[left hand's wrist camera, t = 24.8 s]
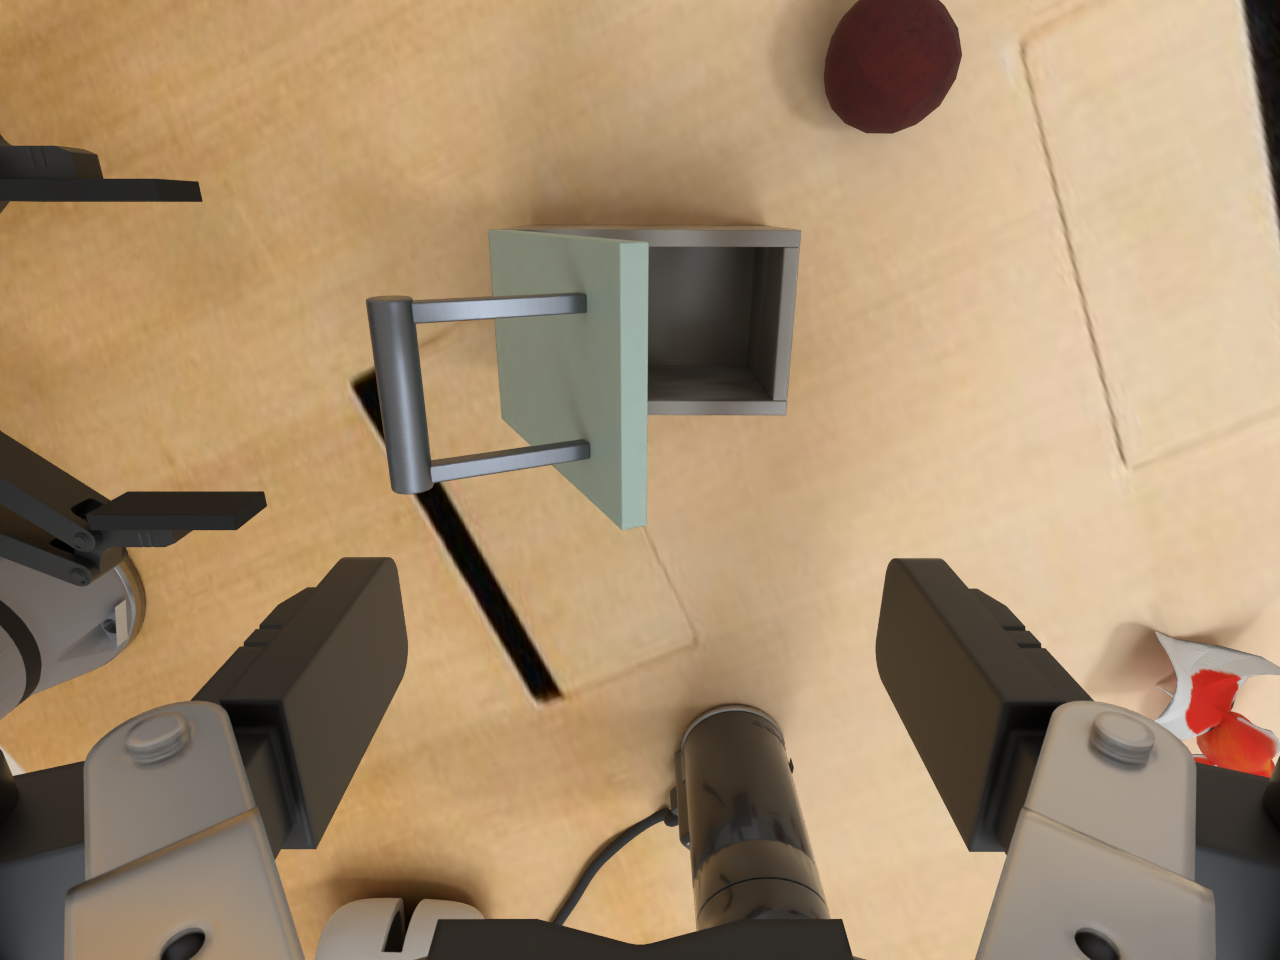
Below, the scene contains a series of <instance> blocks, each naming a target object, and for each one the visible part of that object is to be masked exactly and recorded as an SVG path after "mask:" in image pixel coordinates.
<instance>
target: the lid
mask: <svg viewBox="0 0 1280 960" xmlns="http://www.w3.org/2000/svg"><path fill="white" fill-rule="evenodd" d="M488 235H489V249H490V263H491V277H492V290H493V297H473V298H452V299H432V300H413V299H412V298H411V297H408V296H378V297H371V298H368V299H366V306H367V313H368V320H369V327H370V335H371V342H372V349H373V357H374V364H375V371H376V378H377V386H378V393H379V400H380V408H381V415H382V422H383V429H384V437H385V444H386V451H387V459H388V466H389V473H390V480H391V488H392V490H393V491H394V492H396V493H399V494H417V493H421V492H425V491H427V490H429V489H431V488H432V487H433V484H434V483H437V482H444V481H450V480H456V479H463V478H469V477H476V476H482V475H489V474H495V473H501V472H508V471H514V470H521V469H527V468H534V467H540V466H546V465H553V466H554V467H555V468H556V469H557V470H558V471H559V472H560V473H561V474H562V475H563V476H564V477H565V478H567V479H568V480H569V481H570V482H571V483H572V484H573V485H574V486H575V487H576V488H577V489H578V490H579V491H581V492H582V493H583V494H584V495H585V496H586V497H587V498H588V499H589V500H590V501H591V502H592V503H593V504H595V505H596V506H597V507H598V508H599V509H600V510H601V511H602V512H603V513H604V514H605V515H606V516H607V517H609V518H610V519H611V520H612V521H613V522H614V523H615V524H616V525H617V526H618V527H619V528H620V529H621V530H626V529H631V528H636V527H640V526H645V525H647V403H648V260H649V243H648V242H643V241H632V240H620V239H609V238H598V237H586V236H575V235H564V234H552V233H541V232H530V231H518V230H507V229H505V230H488ZM482 319H495V332H496V346H497V360H498V374H499V387H500V401H501V415H502V419H503V420H504V421H505V422H506V423H507V424H508V425H509V426H511V427H512V428H513V429H514V430H515V431H516V432H517V433H518V434H519V435H520V436H521V437H522V438H523V439H525V440H526V441H527V442H528V443H529V444H530V445H531V446H530V447H523V448H516V449H509V450H502V451H495V452H487V453H480V454H473V455H466V456H459V457H452V458H445V459H438V460H431V456H430V447H429V438H428V430H427V421H426V412H425V403H424V394H423V385H422V377H421V368H420V359H419V350H418V341H417V332H416V324H418V323H434V322H450V321H466V320H482Z"/></svg>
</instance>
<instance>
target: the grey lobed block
mask: <svg viewBox="0 0 1280 960" xmlns="http://www.w3.org/2000/svg"><path fill="white" fill-rule="evenodd" d="M438 919H485V918H484V916H483V915H482V914H481V912H480V911H479V910H477V909H476V908H474V907H473V906H470V905H467V904H464V903H460V902H455V901H447V900H435V899H423V900H422V901H421V902H420V903H419V904H418V905H417V907H416V909H415V911H414V913H413V915H412V918H411V921H410V924H409V927H408V930H407V934H406V937H405V917H404V904H403V900H402V898H370V899H361V900H356V901H353V902H350V903H347V904H345V905H343V906H341V907H340V908H339V909H337V910H336V911H335V912H334V913H333V914H332V915H331V917H330V918H329V919H328V921H327V923H326V925H325V926H324V928H323V931H322V933H321V936H320V939H319V943H318V947H317V951H316V957H315V960H415V959H418V958H422V957H426V956H428V952H429V949H430V945H431V942H432V938H433V935H434V931H435V928H436V924H437V921H438Z"/></svg>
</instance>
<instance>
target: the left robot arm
mask: <svg viewBox="0 0 1280 960" xmlns="http://www.w3.org/2000/svg"><path fill="white" fill-rule="evenodd" d="M407 656H408V640H407V632H406V625H405V618H404V611H403V605H402V598H401V591H400V584H399V577H398V571H397V567H396V564H395V562H394V560H393V559H392V558H390V557H344V558H342V559H340V560H339V561H338V562H337V563H336V565H335V566H334V567H333V568H332V569H331V570H330V572H329V573H328V574H327V575H326V576H325V577H324V579H323V580H322V581H321V582H320V583H319V584H318V586H317V587H307V588H306V589H304V590H302V591H301V592H299V593H297V594H296V595H294V596H292V597H291V598H289V599H287V600H285V601H284V602H282V603H280V604H279V605H278V606H277V607H276V608H275V609H274V610H273V611H272V612H271V613H270V614H269V615H268V617H267V618H266V619H265V620H264V621H263V622H262V623H261V624H260V628H259V629H256V630H255V631H254V632H253V633H252V634H251V635H250V636H249V637H248V638H247V639H246V641H245V642H244V646H243V647H239V648H238V649H237V650H236V651H235V653H234V654H233V655H232V656H231V657H230V658H229V659H228V660H227V661H226V662H225V663H224V665H223V666H222V667H221V668H220V669H219V670H218V671H217V672H216V673H215V674H214V675H213V677H212V678H211V679H210V680H209V681H208V682H207V683H206V684H205V685H204V686H203V687H202V689H201V690H200V691H199V692H198V693H197V694H196V695H195V696H194V697H193V698H192V699H191V701H185V702H177V703H173V704H168V705H164V706H161V707H157V708H154V709H152V710H149V711H146V712H144V713H141V714H139V715H137V716H135V717H133V718H131V719H129V720H127V721H125V722H124V723H122V724H120V725H119V726H117V727H116V728H114V729H113V730H111V731H110V732H109V733H107V734H106V735H105V736H104V737H103V738H101V739H100V740H99V741H98V742H97V743H96V744H95V745H94V747H93V748H92V749H91V751H90V752H89V753H88V755H87V758H86V760H85V761H82V762H77V763H72V764H68V765H63V766H58V767H54V768H49V769H44V770H39V771H35V772H30V773H25V774H21V775H16V776H12V773H11V771H10V769H9V766H8V764H7V762H6V759H5V757H4V755H3V752H2V751H1V750H0V960H305V958H304V954H303V951H302V948H301V945H300V941H299V938H298V935H297V932H296V928H295V925H294V922H293V919H292V915H291V912H290V909H289V906H288V902H287V899H286V896H285V893H284V889H283V886H282V883H281V880H280V876H279V873H278V870H277V867H276V863H275V859H276V857H277V855H278V854H279V852H280V850H281V849H316V848H317V846H318V844H319V842H320V840H321V838H322V836H323V834H324V832H325V830H326V828H327V826H328V825H329V823H330V821H331V819H332V817H333V815H334V813H335V811H336V809H337V807H338V805H339V803H340V801H341V799H342V797H343V795H344V793H345V791H346V789H347V787H348V785H349V783H350V781H351V779H352V777H353V775H354V773H355V771H356V769H357V767H358V765H359V763H360V761H361V759H362V757H363V755H364V753H365V752H366V750H367V748H368V746H369V744H370V742H371V740H372V738H373V736H374V734H375V732H376V730H377V728H378V726H379V724H380V722H381V720H382V718H383V716H384V714H385V712H386V710H387V708H388V706H389V704H390V702H391V700H392V698H393V696H394V694H395V692H396V690H397V688H398V686H399V684H400V682H401V680H402V678H403V676H404V673H405V669H406V664H407ZM876 661H877V667H878V672H879V675H880V678H881V680H882V683H883V685H884V686H885V688H886V690H887V692H888V694H889V696H890V698H891V700H892V702H893V704H894V706H895V708H896V710H897V712H898V714H899V716H900V718H901V720H902V722H903V724H904V725H905V727H906V729H907V731H908V733H909V735H910V737H911V739H912V741H913V743H914V745H915V747H916V749H917V751H918V753H919V755H920V757H921V759H922V761H923V762H924V764H925V766H926V768H927V770H928V772H929V774H930V776H931V778H932V780H933V782H934V784H935V786H936V788H937V790H938V792H939V794H940V796H941V798H942V800H943V801H944V803H945V805H946V807H947V809H948V811H949V813H950V815H951V817H952V819H953V821H954V823H955V825H956V827H957V829H958V831H959V833H960V835H961V837H962V838H963V840H964V842H965V844H966V846H967V848H968V850H969V852H1005V853H1006V855H1007V857H1006V860H1005V863H1004V867H1003V870H1002V873H1001V876H1000V880H999V883H998V886H997V889H996V893H995V896H994V899H993V902H992V906H991V909H990V912H989V915H988V919H987V922H986V925H985V928H984V932H983V935H982V938H981V941H980V945H979V948H978V951H977V954H976V958H975V960H1280V756H1279V759H1278V761H1277V763H1276V766H1275V768H1274V770H1273V773H1272V775H1271V778H1269V777H1264V776H1259V775H1254V774H1250V773H1245V772H1240V771H1236V770H1231V769H1226V768H1221V767H1217V766H1212V765H1207V764H1203V763H1199V762H1195V760H1194V758H1193V755H1192V753H1191V752H1190V751H1189V749H1188V748H1187V747H1186V745H1185V744H1184V743H1183V742H1182V741H1181V740H1180V739H1179V738H1177V737H1176V736H1175V735H1174V734H1173V733H1171V732H1170V731H1169V730H1167V729H1166V728H1164V727H1163V726H1161V725H1160V724H1158V723H1156V722H1155V721H1153V720H1151V719H1149V718H1147V717H1145V716H1143V715H1141V714H1139V713H1136V712H1134V711H1131V710H1128V709H1126V708H1123V707H1119V706H1116V705H1112V704H1107V703H1103V702H1095V701H1094V700H1093V699H1092V698H1091V697H1090V696H1089V695H1088V694H1087V693H1086V692H1085V691H1084V690H1083V689H1082V688H1081V686H1080V685H1079V684H1078V683H1077V682H1076V681H1075V680H1074V679H1073V678H1072V677H1071V676H1070V675H1069V673H1068V672H1067V671H1066V670H1065V669H1064V668H1063V667H1062V666H1061V665H1060V664H1059V663H1058V662H1057V660H1056V659H1055V658H1054V657H1053V656H1052V655H1051V654H1050V653H1049V652H1048V651H1047V650H1046V649H1045V648H1041V643H1040V642H1039V641H1038V640H1037V639H1036V638H1035V637H1034V636H1033V635H1032V633H1031V632H1030V631H1026V630H1025V626H1024V625H1023V624H1022V623H1021V622H1020V620H1019V619H1018V618H1017V617H1016V616H1015V615H1014V614H1013V613H1012V612H1011V611H1010V610H1009V609H1008V607H1007V606H1005V605H1003V604H1002V603H1000V602H998V601H997V600H995V599H993V598H992V597H990V596H988V595H987V594H985V593H983V592H982V591H980V590H978V589H968V587H967V586H966V585H965V584H964V583H963V582H962V580H961V579H960V578H959V577H958V576H957V575H956V574H955V572H954V571H953V570H952V569H951V568H950V567H949V566H948V564H947V563H946V562H945V561H944V560H942V559H939V558H894V559H892V560H891V561H890V563H889V565H888V567H887V570H886V576H885V583H884V589H883V596H882V603H881V610H880V617H879V624H878V631H877V637H876ZM674 758H675V774H676V787H675V788H673V789H672V790H671V791H670V798H671V810H670V809H664V810H661V811H659V812H656V813H654V814H653V815H651V816H650V817H648V818H646V819H645V820H643V821H641V822H639V823H637V824H636V825H634V826H633V827H631V828H630V829H629V830H627V831H626V832H625V833H623V834H622V835H621V836H620V837H618V838H617V839H616V840H615V841H614V842H613V843H612V844H610V845H609V846H608V847H607V848H606V849H605V850H604V851H603V852H602V853H601V854H600V855H599V856H598V857H597V858H596V859H595V860H594V861H593V863H592V864H591V865H590V866H589V868H588V869H587V870H586V872H585V873H584V875H583V876H582V878H581V879H580V881H579V883H578V885H577V886H576V888H575V890H574V891H573V893H572V895H571V896H570V898H569V899H568V901H567V902H566V904H565V905H564V907H563V908H562V910H561V911H560V913H559V914H558V916H557V917H556V919H555V920H554V922H553V923H550V922H546V921H543V920H539V919H438V921H437V924H436V928H435V931H434V935H433V938H432V942H431V945H430V949H429V952H428V956H426V957H422V958H418V959H415V960H865V959H862V958H858V957H854V956H852V952H851V949H850V945H849V942H848V938H847V935H846V931H845V928H844V924H843V921H842V919H831V917H830V914H829V910H828V906H827V902H826V899H825V895H824V891H823V887H822V884H821V880H820V876H819V873H818V869H817V866H816V862H815V858H814V854H813V851H812V847H811V843H810V840H809V836H808V832H807V828H806V825H805V821H804V817H803V814H802V810H801V806H800V802H799V799H798V795H797V791H796V788H795V784H794V780H793V776H792V773H793V768H794V767H793V764H792V760H791V758H790V763H789V762H788V758H787V754H786V748H785V743H784V739H783V735H782V732H781V730H780V728H779V726H778V725H777V723H776V722H775V721H774V720H773V719H772V718H771V717H770V716H769V715H767V714H766V713H764V712H762V711H760V710H758V709H756V708H753V707H749V706H744V705H726V706H721V707H717V708H714V709H711V710H709V711H707V712H705V713H703V714H701V715H700V716H698V717H697V718H696V719H695V720H694V721H693V722H692V723H691V724H690V725H689V726H688V728H687V729H686V731H685V733H684V735H683V738H682V743H681V749H680V751H679V752H677V753H676V754H675V755H674ZM661 821H664V823H665V824H666V825H667V826H670V827H674V826H677V825H679V837H680V841H681V843H682V845H683V846H685V847H686V848H687V849H689V850H690V855H691V868H692V881H693V892H694V905H695V917H696V930H697V931H696V932H692V933H688V934H685V935H681V936H677V937H673V938H670V939H666V940H662V941H658V942H655V943H651V944H645V945H635V944H629V943H625V942H622V941H618V940H614V939H610V938H607V937H603V936H599V935H595V934H592V933H588V932H584V931H580V930H577V929H573V928H569V927H565V926H562V925H563V923H564V922H565V920H566V919H567V917H568V916H569V914H570V913H571V911H572V910H573V909H574V907H575V906H576V904H577V903H578V901H579V899H580V898H581V896H582V894H583V893H584V891H585V889H586V888H587V886H588V884H589V883H590V881H591V880H592V878H593V877H594V875H595V874H596V873H597V871H598V870H599V869H600V868H601V867H602V865H603V864H604V863H605V862H606V861H607V860H608V859H610V858H611V857H612V856H613V855H614V854H615V853H616V852H617V851H618V850H620V849H621V848H622V847H623V846H624V845H626V844H627V843H628V842H629V841H630V840H632V839H633V838H634V837H636V836H637V835H638V834H640V833H641V832H643V831H644V830H646V829H647V828H649V827H651V826H652V825H654V824H656V823H658V822H661Z"/></svg>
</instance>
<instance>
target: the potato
mask: <svg viewBox="0 0 1280 960" xmlns="http://www.w3.org/2000/svg"><path fill="white" fill-rule="evenodd" d="M961 57H962V52H961V45H960V39H959V32H958V28H957V26H956V24H955V23H954V21H953V19H952V17H951V16H950V14H949V12H948V11H947V9H946V7H945V6H944V5H943V4H942V3H941V2H940V1H939V0H859V1H858V2H857V3H856V4H855V5H854V6H853V7H852V8H851V9H850V10H849V11H848V12H847V13H846V14H845V15H844V16H843V18H842V19H841V20H840V22H839V24H838V26H837V28H836V30H835V32H834V34H833V36H832V38H831V41H830V45H829V49H828V52H827V56H826V61H825V72H824V82H825V92H826V95H827V98H828V100H829V103H830V106H831V108H832V109H833V110H834V112H835V113H836V114H837V115H838V116H839V117H840V118H841V119H842V120H843V121H844V123H846V124H848V125H850V126H852V127H854V128H856V129H859V130H861V131H863V132H865V133H895V132H898V131H900V130H903V129H905V128H908V127H911V126H913V125H916V124H917V123H919V122H920V121H921V120H923V119H924V118H925V117H926V116H928V115H929V114H930V113H931V112H932V111H934V110H935V109H936V108H937V107H939V106H940V104H941V103H942V101H943V99H944V98H945V96H946V94H947V93H948V91H949V89H950V88H951V86H952V84H953V83H954V81H955V79H956V76H957V72H958V68H959V65H960V61H961Z"/></svg>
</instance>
